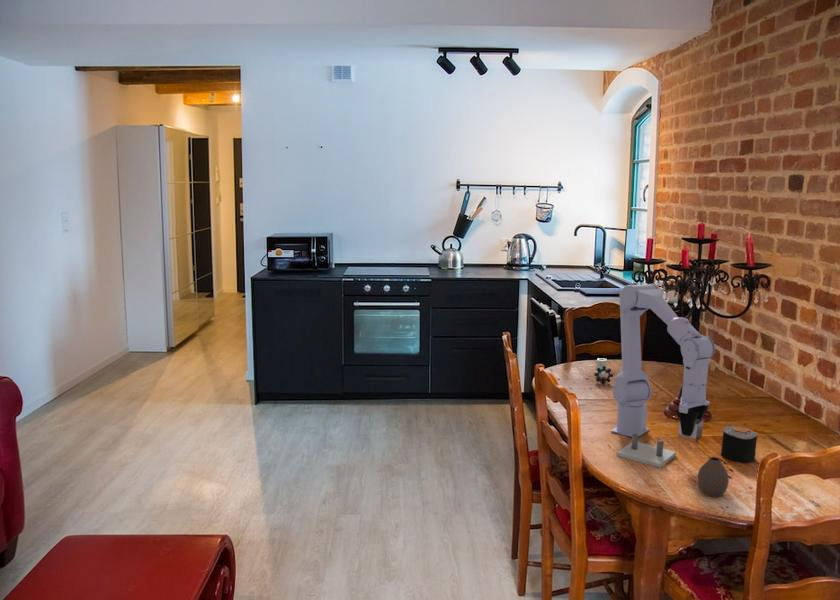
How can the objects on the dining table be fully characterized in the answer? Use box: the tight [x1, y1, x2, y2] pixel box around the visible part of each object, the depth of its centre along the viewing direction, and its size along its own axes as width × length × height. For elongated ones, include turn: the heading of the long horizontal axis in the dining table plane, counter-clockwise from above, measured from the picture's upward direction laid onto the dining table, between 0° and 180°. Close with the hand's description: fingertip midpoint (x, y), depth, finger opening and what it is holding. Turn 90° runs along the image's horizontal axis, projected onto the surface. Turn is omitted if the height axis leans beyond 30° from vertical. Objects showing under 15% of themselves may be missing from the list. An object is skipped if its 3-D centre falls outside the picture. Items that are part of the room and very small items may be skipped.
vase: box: [696, 456, 730, 498], centre depth 172 cm, size 7×7×9 cm
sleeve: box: [677, 418, 704, 443], centre depth 189 cm, size 5×5×5 cm
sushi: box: [720, 425, 758, 464], centre depth 194 cm, size 8×8×8 cm
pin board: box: [616, 434, 677, 468], centre depth 194 cm, size 11×12×5 cm
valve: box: [593, 357, 614, 385], centre depth 266 cm, size 7×7×12 cm
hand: (689, 432), depth 189 cm, fingers closed on sleeve, 5 cm apart
